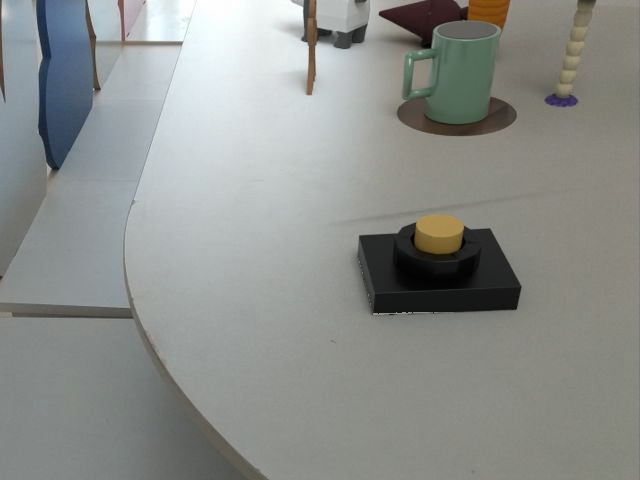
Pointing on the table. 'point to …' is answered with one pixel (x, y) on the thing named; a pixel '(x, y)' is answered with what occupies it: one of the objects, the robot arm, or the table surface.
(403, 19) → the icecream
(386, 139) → the table surface
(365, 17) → the giant panda
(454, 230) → the bell button
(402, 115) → the disc
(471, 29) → the mug
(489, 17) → the carrot
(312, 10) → the gingerbread man figurine
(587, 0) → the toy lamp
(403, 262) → the block
